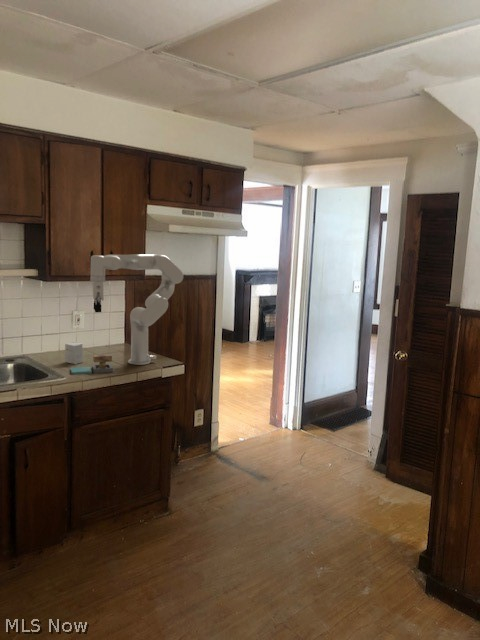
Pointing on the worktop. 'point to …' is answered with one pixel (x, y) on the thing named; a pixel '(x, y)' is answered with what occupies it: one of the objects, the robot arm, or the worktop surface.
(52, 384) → the worktop surface
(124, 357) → the worktop surface
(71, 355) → the small box
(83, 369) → the tile
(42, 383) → the worktop surface
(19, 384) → the worktop surface
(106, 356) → the t-key
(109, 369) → the socket
